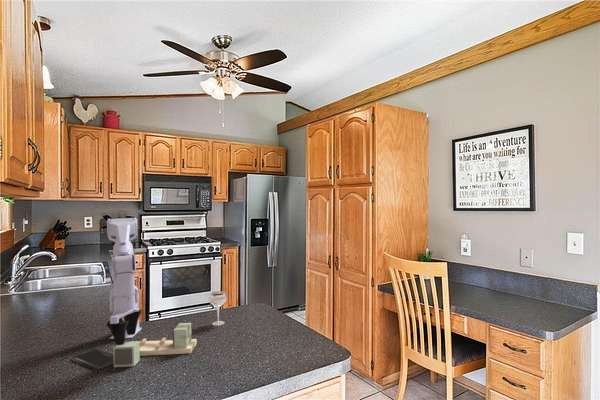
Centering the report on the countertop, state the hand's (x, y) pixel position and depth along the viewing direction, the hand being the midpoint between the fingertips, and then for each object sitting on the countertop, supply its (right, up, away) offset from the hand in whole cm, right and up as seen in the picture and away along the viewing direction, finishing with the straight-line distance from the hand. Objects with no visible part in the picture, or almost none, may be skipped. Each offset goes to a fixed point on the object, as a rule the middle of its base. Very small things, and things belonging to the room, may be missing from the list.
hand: (125, 339), depth 106 cm
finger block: (0, -8, 0) cm, 8 cm away
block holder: (+8, -7, +10) cm, 14 cm away
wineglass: (+20, -7, +34) cm, 40 cm away
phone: (-11, -9, +3) cm, 14 cm away
